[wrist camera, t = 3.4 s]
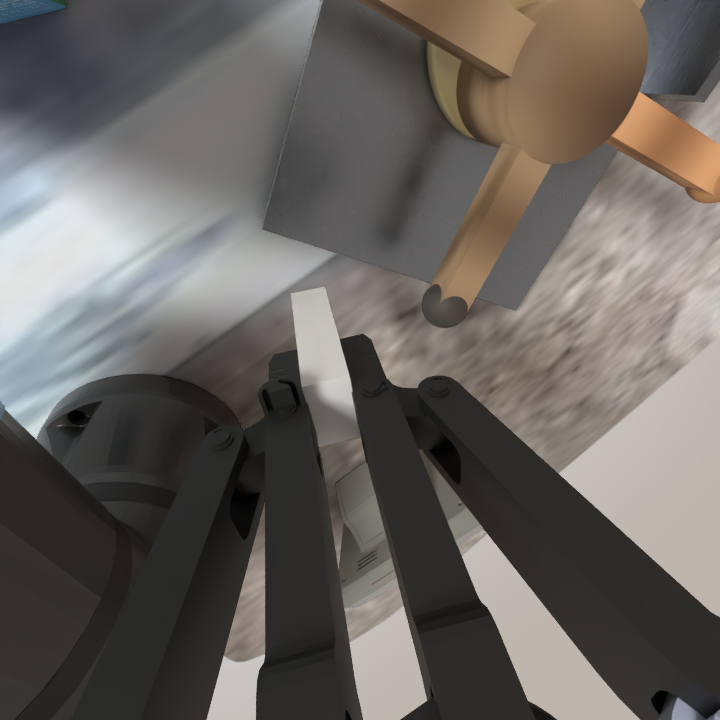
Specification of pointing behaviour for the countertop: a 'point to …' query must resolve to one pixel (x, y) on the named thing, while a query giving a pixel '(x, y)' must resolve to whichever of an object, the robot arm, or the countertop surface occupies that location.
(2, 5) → the milk carton
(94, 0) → the countertop surface
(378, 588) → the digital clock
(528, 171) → the capstan
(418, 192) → the stand
